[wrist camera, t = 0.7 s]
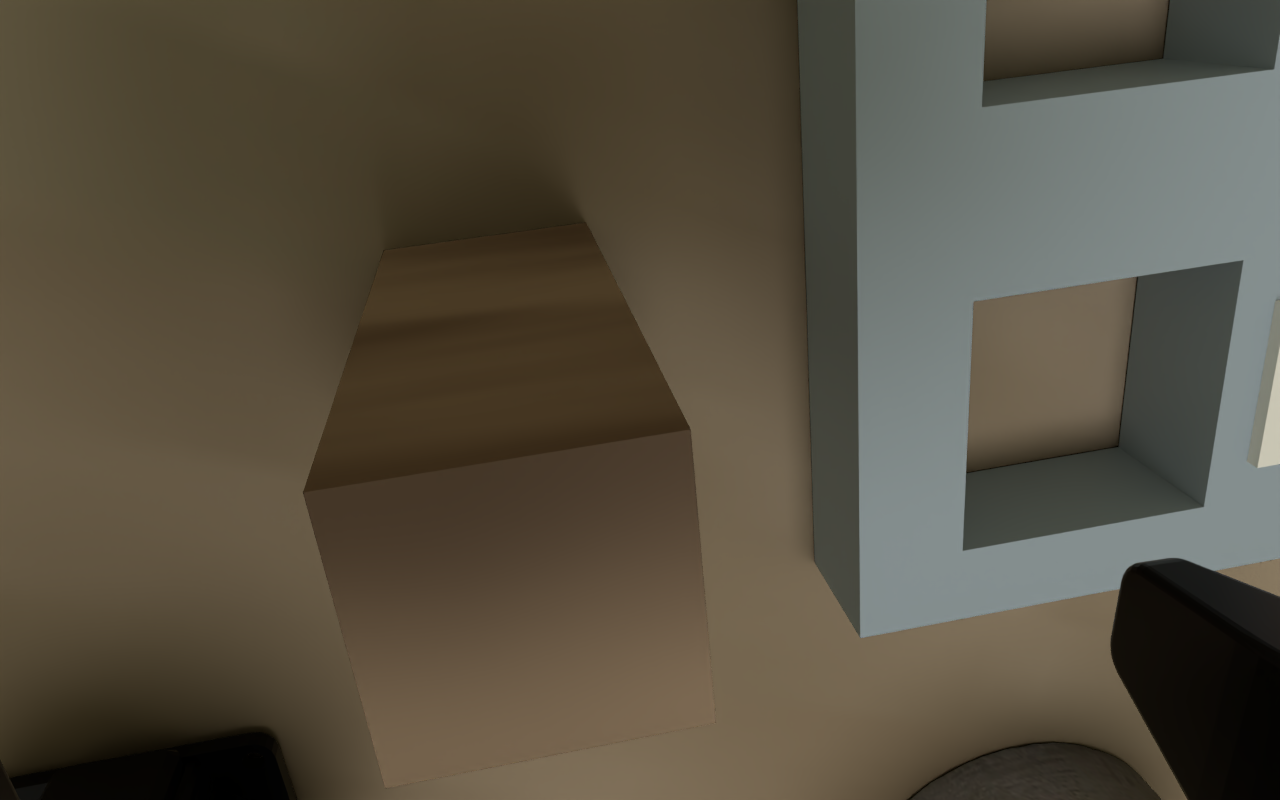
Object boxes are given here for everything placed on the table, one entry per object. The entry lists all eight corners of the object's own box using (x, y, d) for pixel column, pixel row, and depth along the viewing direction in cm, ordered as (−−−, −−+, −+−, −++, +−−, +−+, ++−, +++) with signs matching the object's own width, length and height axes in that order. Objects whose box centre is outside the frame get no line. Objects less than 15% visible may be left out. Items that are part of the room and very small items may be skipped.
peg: (608, 404, 21) (716, 723, 12) (422, 433, 20) (385, 788, 11) (585, 222, 19) (690, 429, 10) (383, 250, 19) (302, 493, 10)
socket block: (1301, 474, 25) (1415, 541, 22) (814, 562, 23) (865, 646, 20) (1479, -397, 17) (1689, -478, 14) (787, -346, 16) (859, -423, 13)
